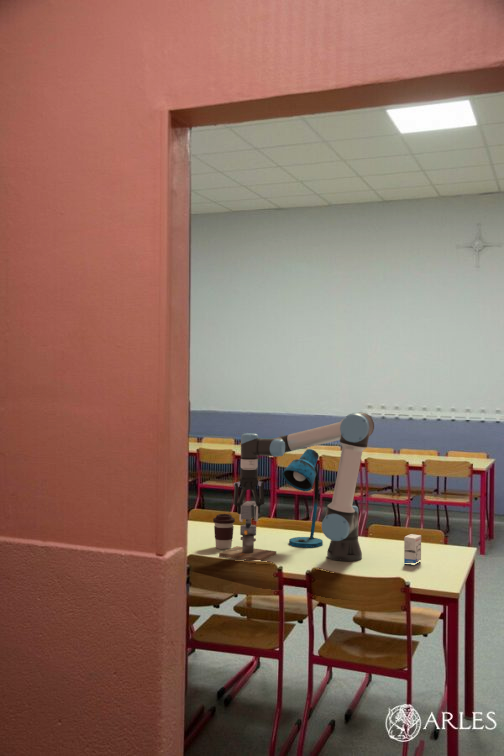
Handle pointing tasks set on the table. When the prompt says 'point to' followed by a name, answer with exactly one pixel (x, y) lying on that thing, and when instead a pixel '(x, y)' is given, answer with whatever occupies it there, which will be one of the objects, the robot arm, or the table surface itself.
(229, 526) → the coffee cup
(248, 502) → the twist cap
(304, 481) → the desk lamp
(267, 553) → the post base
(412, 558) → the ink box
